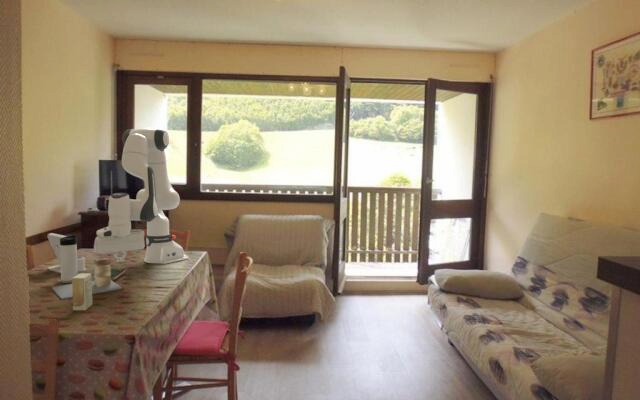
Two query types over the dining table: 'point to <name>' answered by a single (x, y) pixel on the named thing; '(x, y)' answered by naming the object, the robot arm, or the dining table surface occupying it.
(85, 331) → the dining table surface
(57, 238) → the phone holder
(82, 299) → the skincare box
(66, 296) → the grey mat
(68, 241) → the travel mug
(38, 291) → the dining table surface
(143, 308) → the dining table surface
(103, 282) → the birch block
